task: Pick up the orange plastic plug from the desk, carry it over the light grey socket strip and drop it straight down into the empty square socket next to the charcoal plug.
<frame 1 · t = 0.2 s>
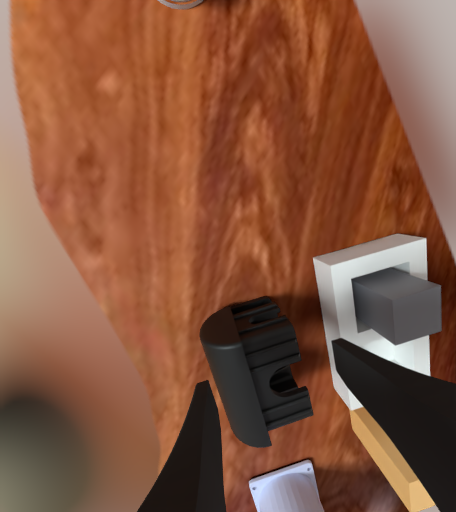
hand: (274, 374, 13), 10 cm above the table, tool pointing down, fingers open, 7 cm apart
end cap: (245, 342, 24), on the table
socket strip: (363, 316, 25), on the table
plug: (365, 411, 28), on the table
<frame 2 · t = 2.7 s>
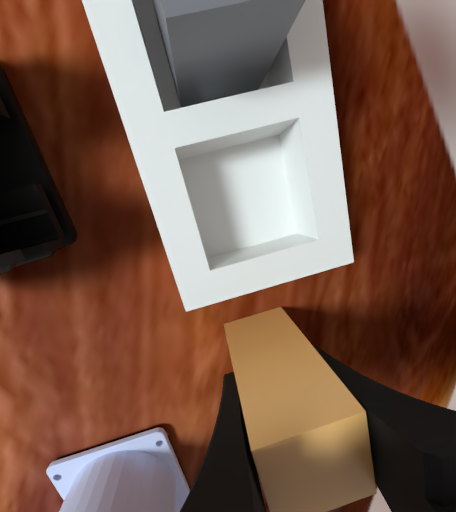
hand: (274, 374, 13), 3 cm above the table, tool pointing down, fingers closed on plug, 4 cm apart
socket strip: (225, 135, 13), on the table
plug: (258, 340, 16), on the table, touching gripper
when the fingers open (4 cm above the table, at t = 7.1 s): plug stays where it is, resting on socket strip.
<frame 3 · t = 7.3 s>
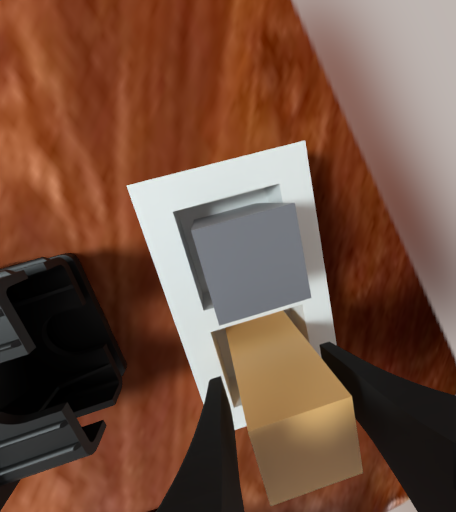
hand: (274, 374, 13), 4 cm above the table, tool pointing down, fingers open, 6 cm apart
end cap: (53, 328, 15), on the table
socket strip: (243, 288, 16), on the table
plug: (257, 336, 16), resting on socket strip
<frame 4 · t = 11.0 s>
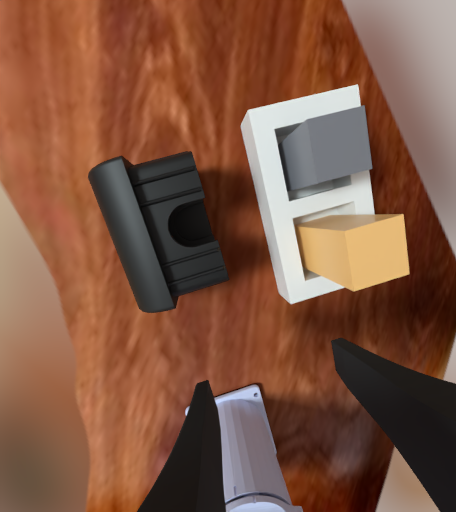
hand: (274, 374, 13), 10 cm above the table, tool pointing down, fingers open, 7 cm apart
end cap: (170, 229, 21), on the table
socket strip: (305, 203, 22), on the table
plug: (314, 240, 22), resting on socket strip
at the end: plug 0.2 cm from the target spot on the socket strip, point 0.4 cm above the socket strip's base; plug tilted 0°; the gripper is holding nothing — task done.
